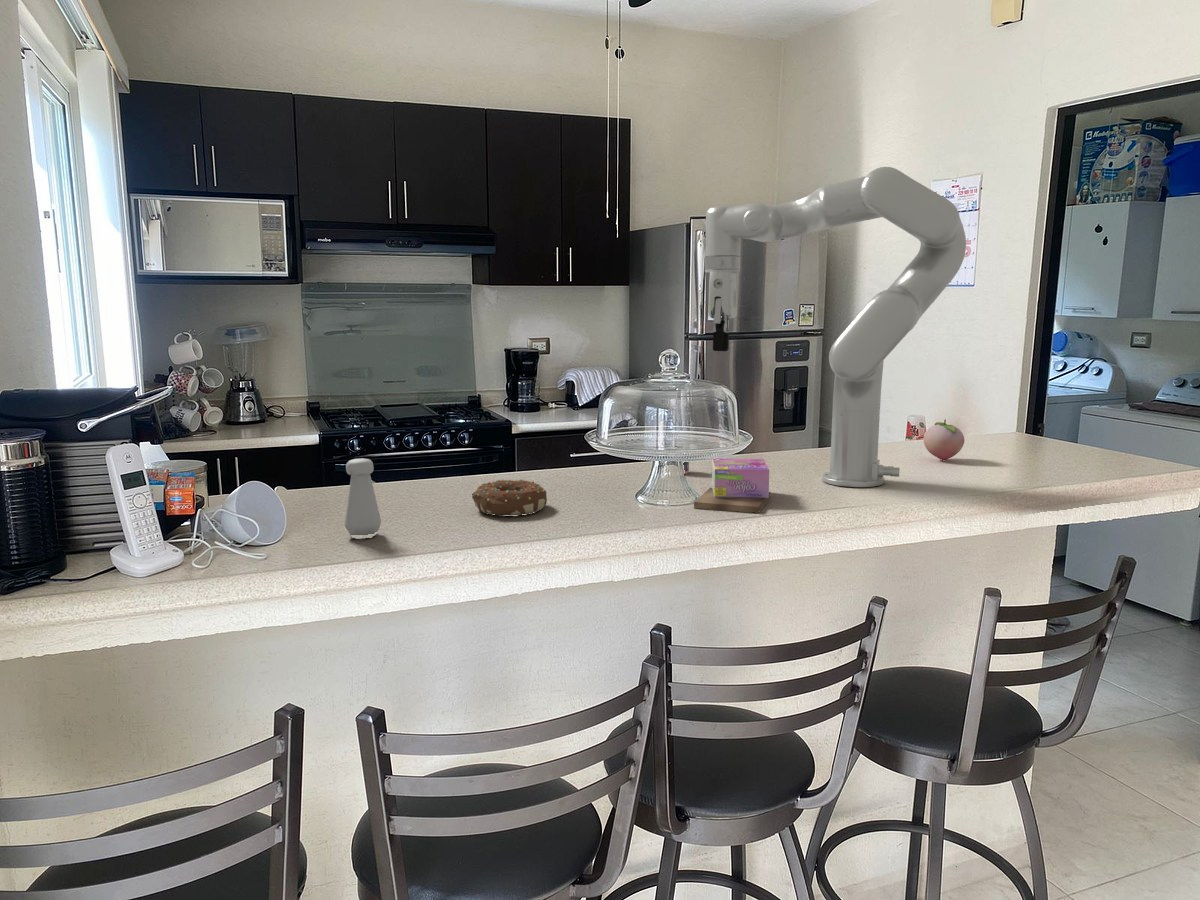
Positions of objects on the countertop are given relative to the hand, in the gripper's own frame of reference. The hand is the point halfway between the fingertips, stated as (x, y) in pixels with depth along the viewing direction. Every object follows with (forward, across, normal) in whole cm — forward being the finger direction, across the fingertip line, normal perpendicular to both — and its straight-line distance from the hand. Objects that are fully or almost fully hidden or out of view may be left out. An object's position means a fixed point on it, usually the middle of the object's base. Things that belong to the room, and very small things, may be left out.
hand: (720, 350), depth 187 cm
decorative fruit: (+27, +27, -49) cm, 62 cm away
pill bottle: (+28, -3, +9) cm, 29 cm away
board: (+27, -29, -8) cm, 40 cm away
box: (+23, -18, -7) cm, 30 cm away
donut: (+28, -46, +31) cm, 62 cm away
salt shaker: (+28, -69, +47) cm, 88 cm away
